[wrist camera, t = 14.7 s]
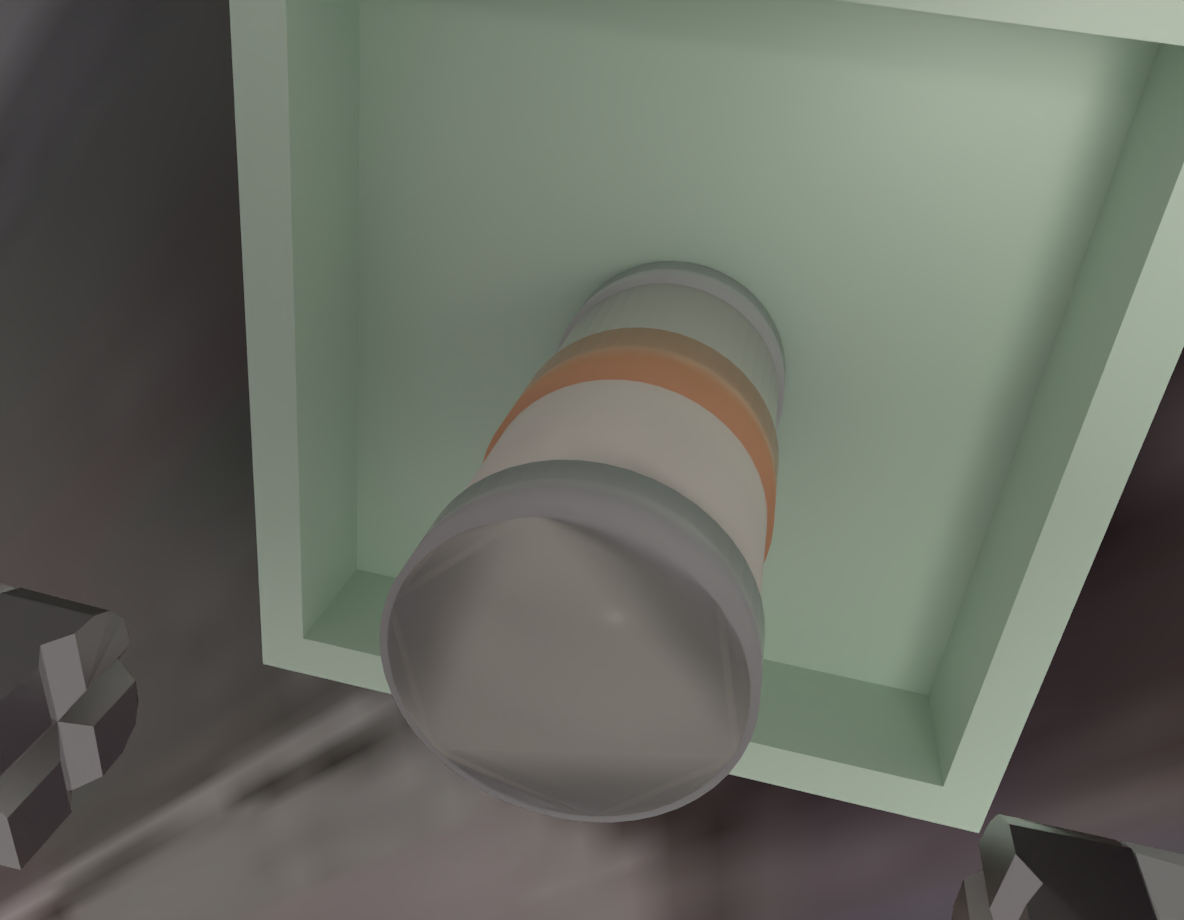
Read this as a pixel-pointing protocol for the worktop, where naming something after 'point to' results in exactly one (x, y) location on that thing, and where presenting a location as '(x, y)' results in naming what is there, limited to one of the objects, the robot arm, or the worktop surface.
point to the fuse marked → (606, 562)
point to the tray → (771, 273)
